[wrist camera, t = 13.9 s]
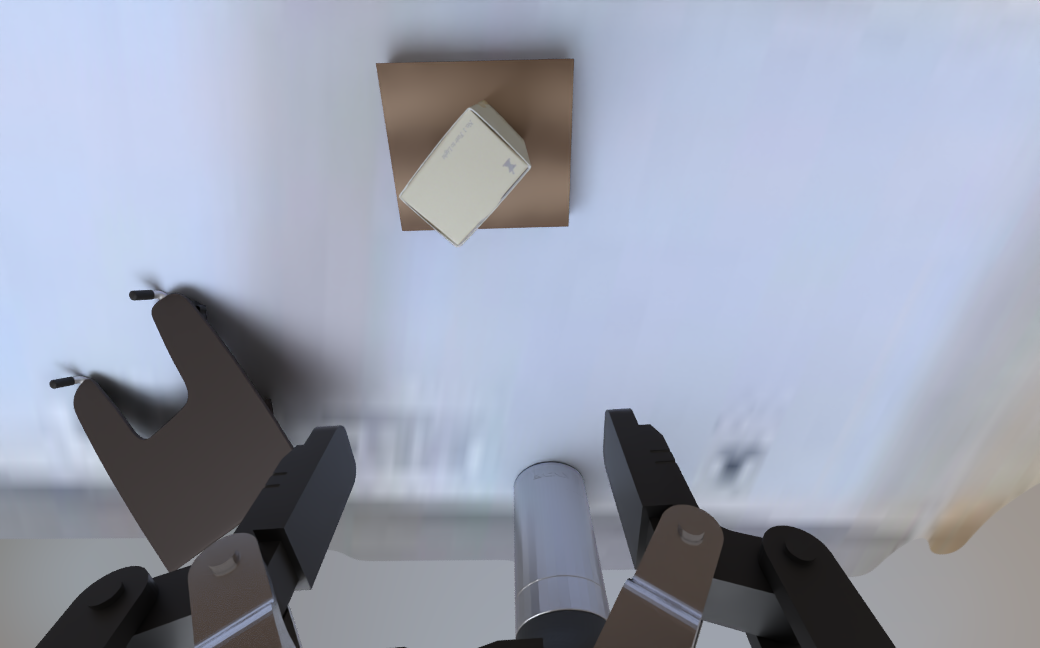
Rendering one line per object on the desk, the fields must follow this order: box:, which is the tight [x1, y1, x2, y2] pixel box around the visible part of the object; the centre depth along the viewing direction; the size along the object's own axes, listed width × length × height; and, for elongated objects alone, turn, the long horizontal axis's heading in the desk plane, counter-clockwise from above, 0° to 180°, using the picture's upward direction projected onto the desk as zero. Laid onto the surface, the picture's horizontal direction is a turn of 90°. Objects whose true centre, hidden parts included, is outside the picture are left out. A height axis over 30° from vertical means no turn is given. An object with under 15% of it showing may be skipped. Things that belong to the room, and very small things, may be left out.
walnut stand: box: [376, 59, 574, 231], centre depth 34 cm, size 12×14×3 cm
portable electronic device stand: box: [50, 290, 294, 572], centre depth 44 cm, size 23×23×9 cm
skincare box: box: [399, 100, 531, 247], centre depth 27 cm, size 6×4×12 cm
